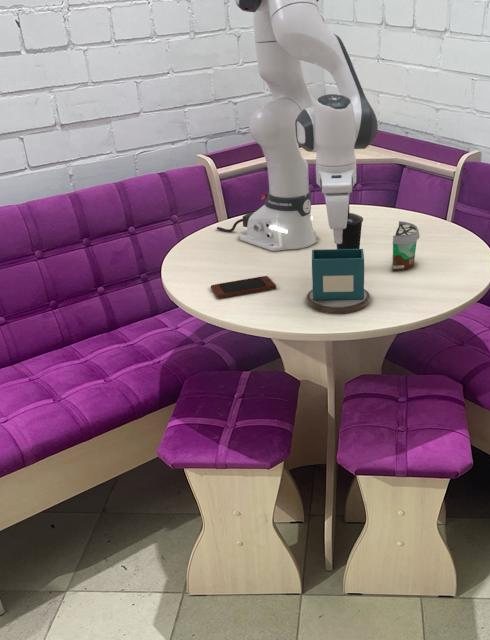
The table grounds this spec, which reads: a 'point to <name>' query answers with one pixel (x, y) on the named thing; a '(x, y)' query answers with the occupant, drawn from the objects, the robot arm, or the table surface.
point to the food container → (404, 246)
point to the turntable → (338, 304)
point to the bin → (338, 274)
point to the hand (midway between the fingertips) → (337, 235)
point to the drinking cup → (351, 232)
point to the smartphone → (242, 286)
